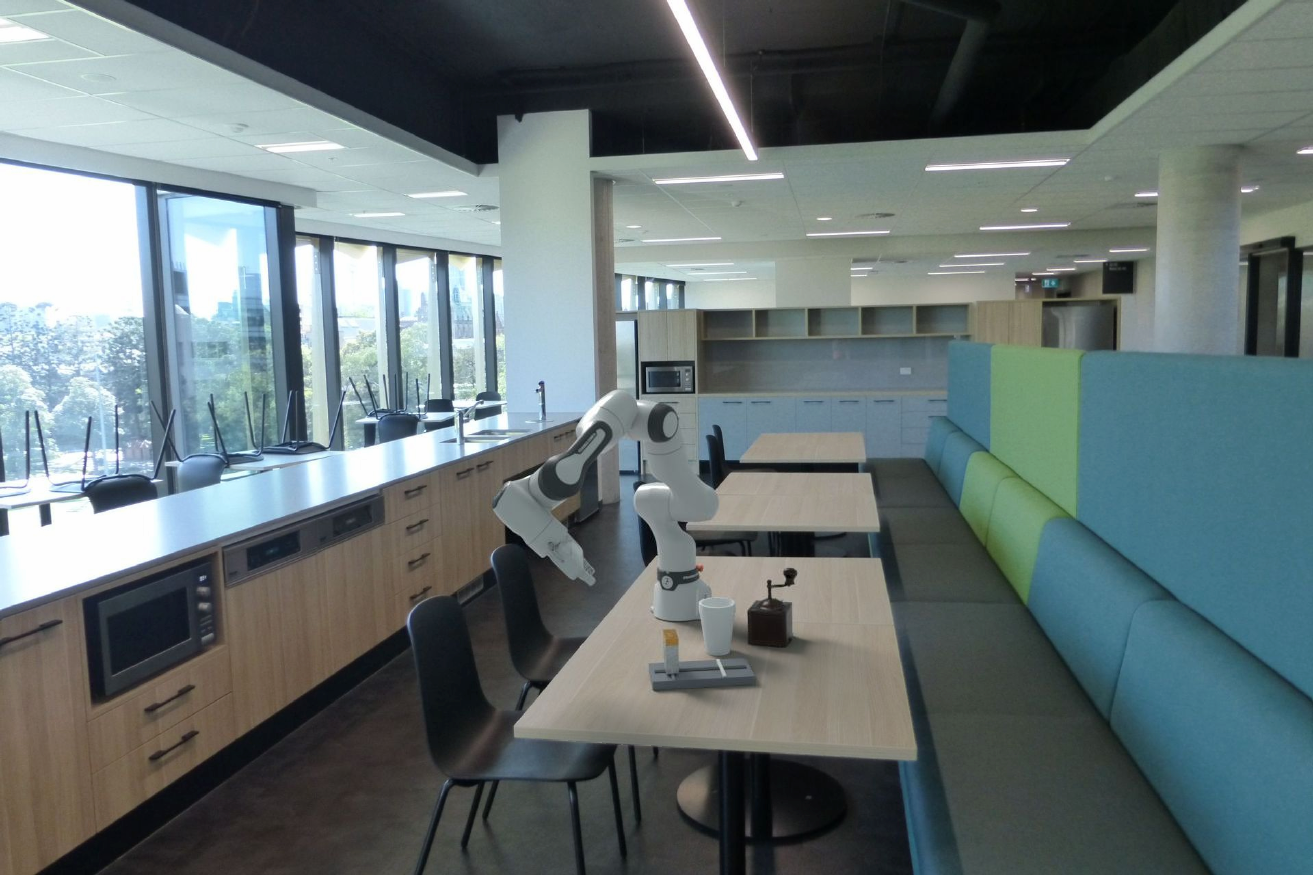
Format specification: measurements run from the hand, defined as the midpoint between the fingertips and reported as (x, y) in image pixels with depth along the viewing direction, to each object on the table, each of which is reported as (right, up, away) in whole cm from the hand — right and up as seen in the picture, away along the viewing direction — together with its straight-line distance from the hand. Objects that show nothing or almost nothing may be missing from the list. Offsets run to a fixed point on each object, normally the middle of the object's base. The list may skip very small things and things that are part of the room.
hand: (593, 578), depth 211 cm
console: (+25, -25, +5) cm, 36 cm away
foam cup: (+31, -23, +23) cm, 44 cm away
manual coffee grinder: (+46, -21, +33) cm, 61 cm away
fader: (+18, -22, +4) cm, 29 cm away
